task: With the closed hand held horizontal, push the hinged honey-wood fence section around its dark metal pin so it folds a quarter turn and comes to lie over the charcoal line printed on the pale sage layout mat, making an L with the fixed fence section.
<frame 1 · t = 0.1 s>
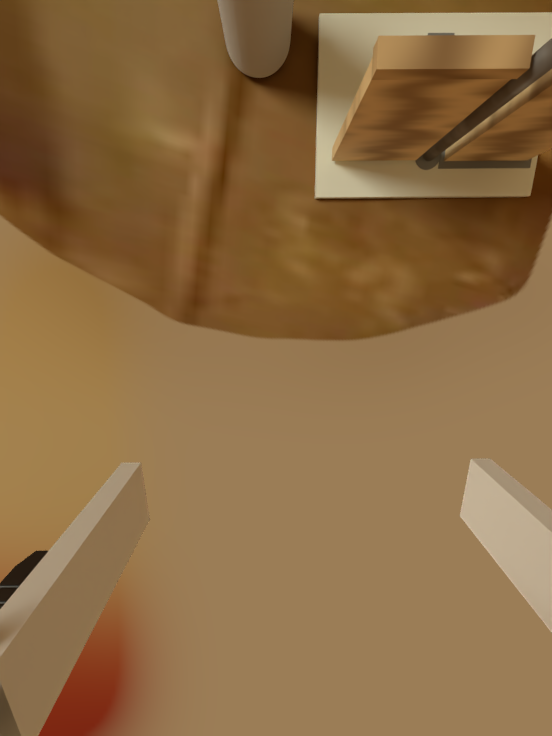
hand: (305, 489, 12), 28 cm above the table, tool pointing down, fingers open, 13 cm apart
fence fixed: (427, 155, 33), resting on layout mat
fence panel: (415, 117, 25), point 9 cm above the table, hinge at 0.0°
layout mat: (429, 114, 32), on the table
beverage can: (258, 45, 31), on the table
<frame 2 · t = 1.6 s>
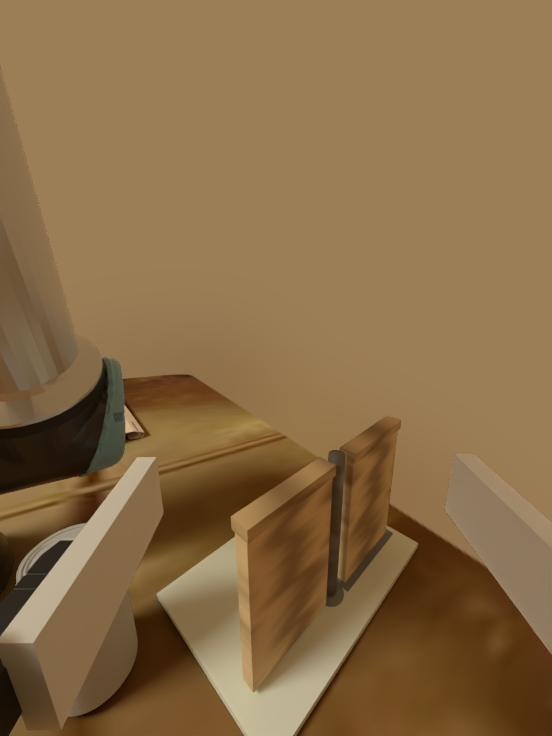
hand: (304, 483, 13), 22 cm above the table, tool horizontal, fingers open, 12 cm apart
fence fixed: (329, 592, 30), resting on layout mat
newspaper: (87, 419, 71), on the table
fence panel: (297, 561, 24), point 8 cm above the table, hinge at 0.0°
layout mat: (298, 570, 33), on the table
beverage can: (97, 670, 25), on the table
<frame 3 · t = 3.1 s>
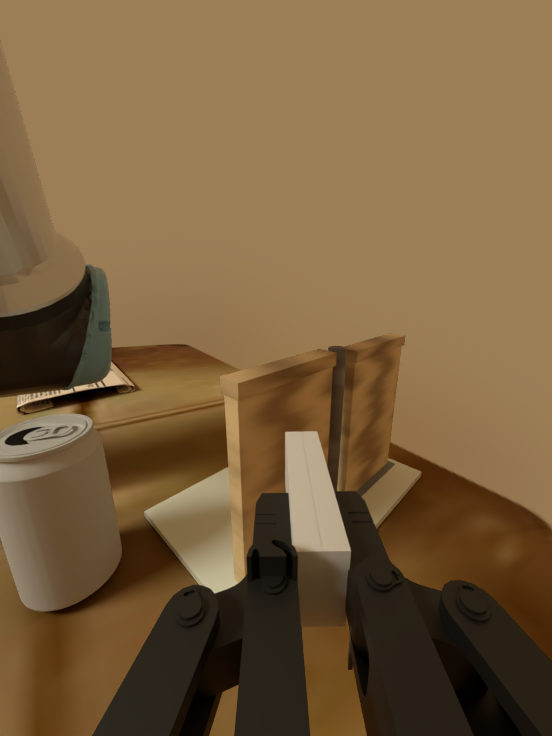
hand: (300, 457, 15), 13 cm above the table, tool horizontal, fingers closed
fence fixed: (327, 510, 28), resting on layout mat
newspaper: (76, 378, 68), on the table
fence panel: (294, 457, 23), point 8 cm above the table, hinge at 0.0°
layout mat: (295, 494, 31), on the table
beverage can: (77, 576, 23), on the table
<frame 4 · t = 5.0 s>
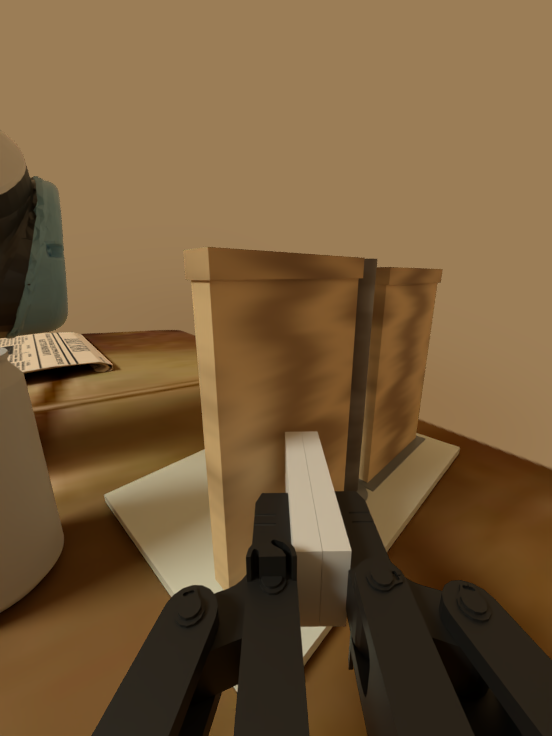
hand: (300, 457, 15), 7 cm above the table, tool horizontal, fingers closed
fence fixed: (347, 492, 21), resting on layout mat
newspaper: (49, 360, 61), on the table
fence panel: (302, 408, 16), point 8 cm above the table, hinge at 1.9°, touching gripper
layout mat: (302, 474, 24), on the table
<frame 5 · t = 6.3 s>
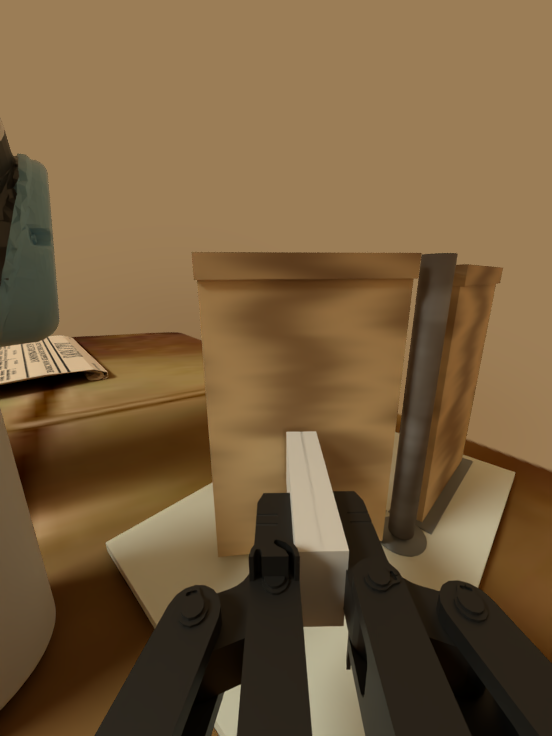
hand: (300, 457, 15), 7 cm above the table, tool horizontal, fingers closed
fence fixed: (400, 535, 18), resting on layout mat
newspaper: (38, 367, 57), on the table
fence panel: (323, 416, 15), point 8 cm above the table, hinge at 40.2°, touching gripper
layout mat: (340, 509, 21), on the table
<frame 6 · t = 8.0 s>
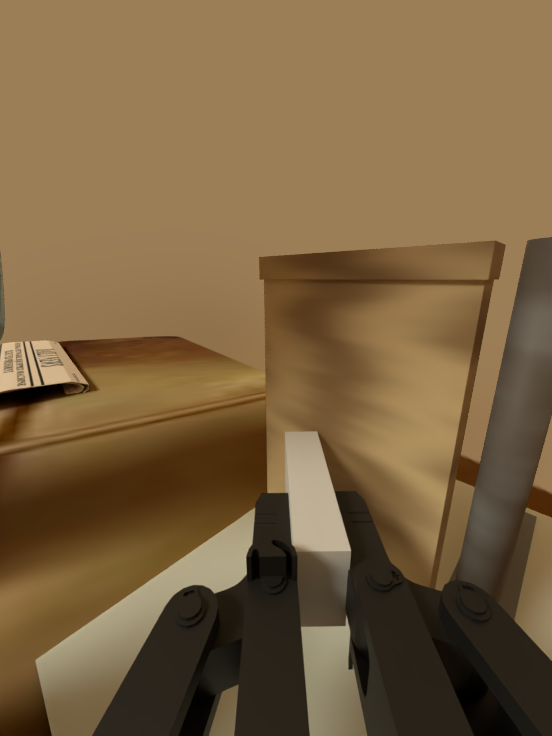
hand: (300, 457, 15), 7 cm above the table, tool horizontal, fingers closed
newspaper: (15, 376, 52), on the table
fence panel: (364, 435, 13), point 8 cm above the table, hinge at 89.3°, touching gripper
layout mat: (368, 595, 15), on the table
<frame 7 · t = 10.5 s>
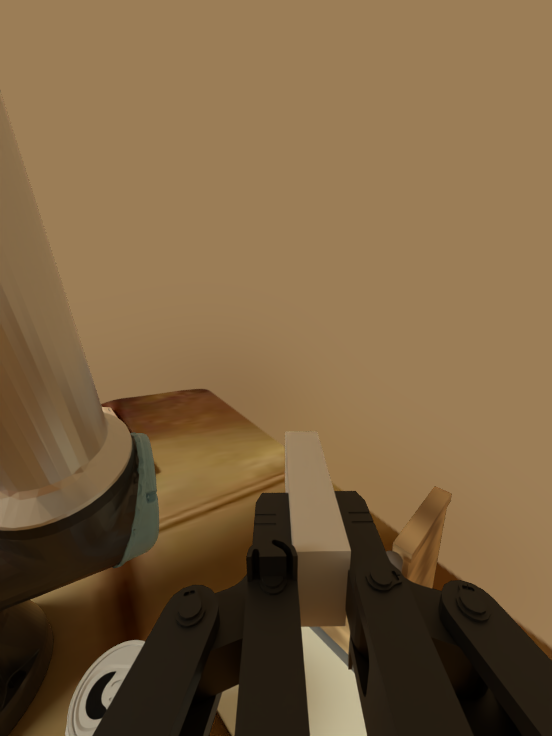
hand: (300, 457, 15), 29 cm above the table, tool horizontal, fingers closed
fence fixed: (379, 678, 29), resting on layout mat
fence panel: (337, 584, 30), point 9 cm above the table, hinge at 89.3°
layout mat: (343, 647, 32), on the table
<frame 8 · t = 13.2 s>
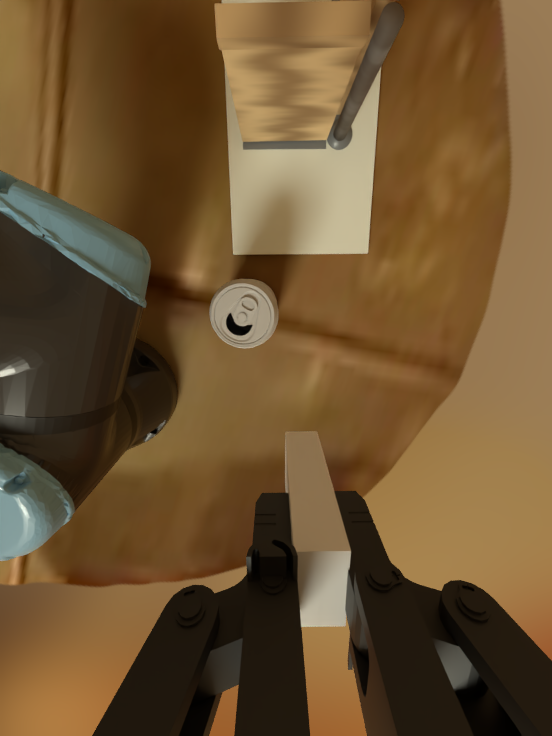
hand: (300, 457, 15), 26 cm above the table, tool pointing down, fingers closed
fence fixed: (339, 134, 33), resting on layout mat
fence panel: (299, 93, 25), point 8 cm above the table, hinge at 89.3°
layout mat: (301, 137, 33), on the table
beverage can: (252, 305, 39), on the table
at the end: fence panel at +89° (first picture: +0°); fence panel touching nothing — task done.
